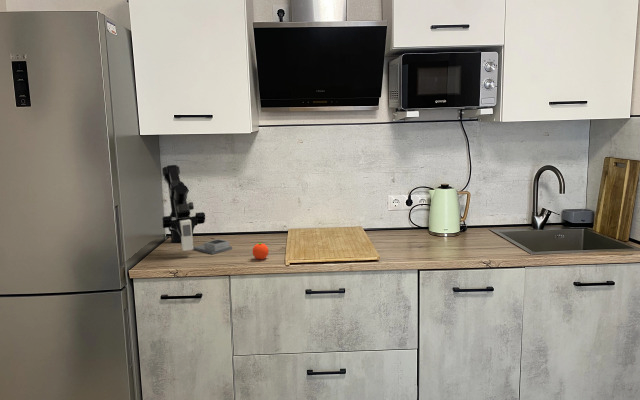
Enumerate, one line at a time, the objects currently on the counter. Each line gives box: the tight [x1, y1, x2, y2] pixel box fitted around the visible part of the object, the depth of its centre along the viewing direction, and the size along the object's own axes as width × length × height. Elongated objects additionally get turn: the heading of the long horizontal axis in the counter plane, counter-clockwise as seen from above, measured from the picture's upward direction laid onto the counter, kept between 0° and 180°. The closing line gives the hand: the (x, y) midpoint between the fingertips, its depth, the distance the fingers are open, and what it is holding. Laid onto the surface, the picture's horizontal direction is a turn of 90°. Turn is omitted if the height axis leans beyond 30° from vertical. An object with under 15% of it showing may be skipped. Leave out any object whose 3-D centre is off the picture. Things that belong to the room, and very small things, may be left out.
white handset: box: [180, 219, 194, 252], centre depth 220 cm, size 5×4×13 cm
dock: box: [193, 238, 233, 255], centre depth 232 cm, size 16×11×4 cm
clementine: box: [252, 242, 269, 260], centre depth 212 cm, size 8×7×7 cm
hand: (186, 235), depth 219 cm, fingers closed on white handset, 4 cm apart
